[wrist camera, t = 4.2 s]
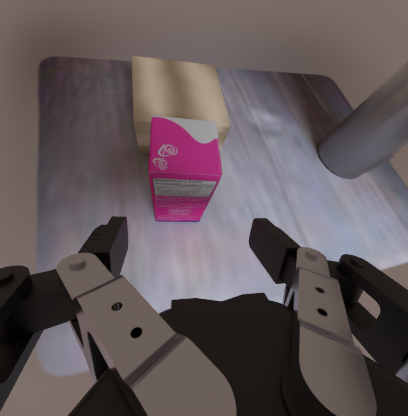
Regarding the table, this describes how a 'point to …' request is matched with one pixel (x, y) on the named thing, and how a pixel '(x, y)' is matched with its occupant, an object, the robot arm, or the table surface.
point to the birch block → (175, 95)
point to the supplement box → (183, 167)
